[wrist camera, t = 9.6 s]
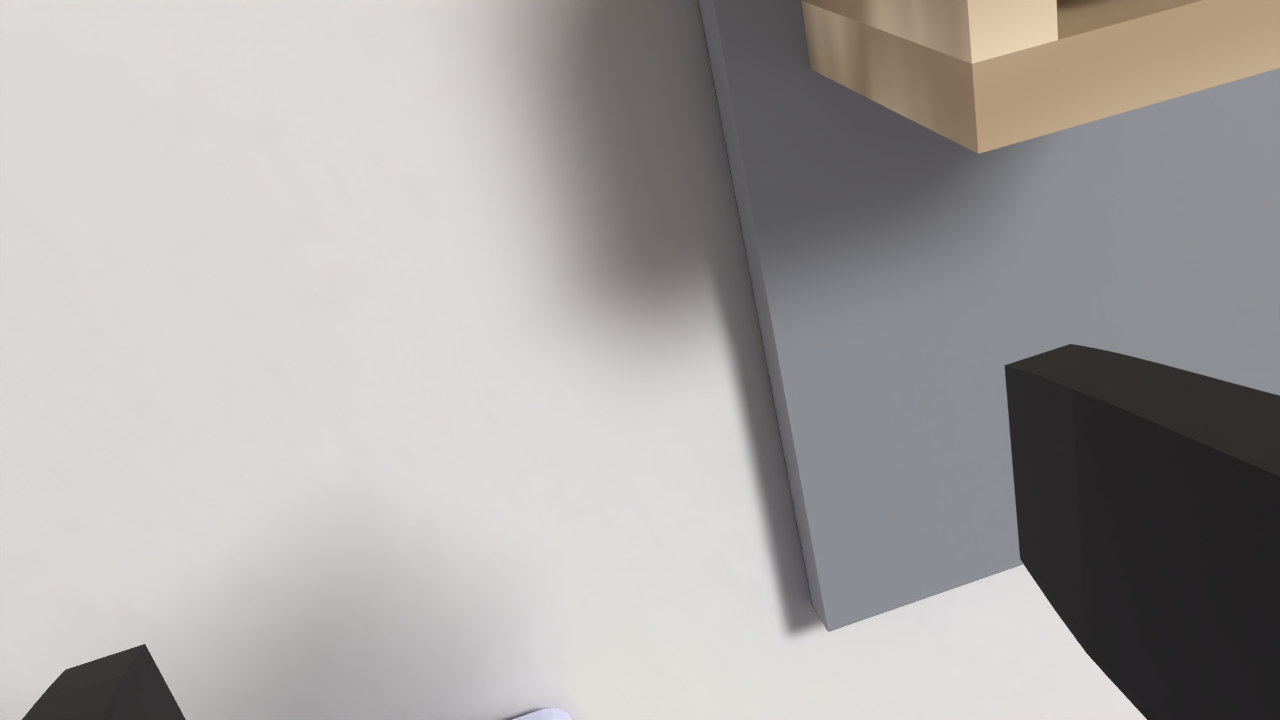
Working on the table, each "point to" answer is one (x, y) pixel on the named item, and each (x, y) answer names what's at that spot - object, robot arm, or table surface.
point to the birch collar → (1034, 58)
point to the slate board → (971, 290)
